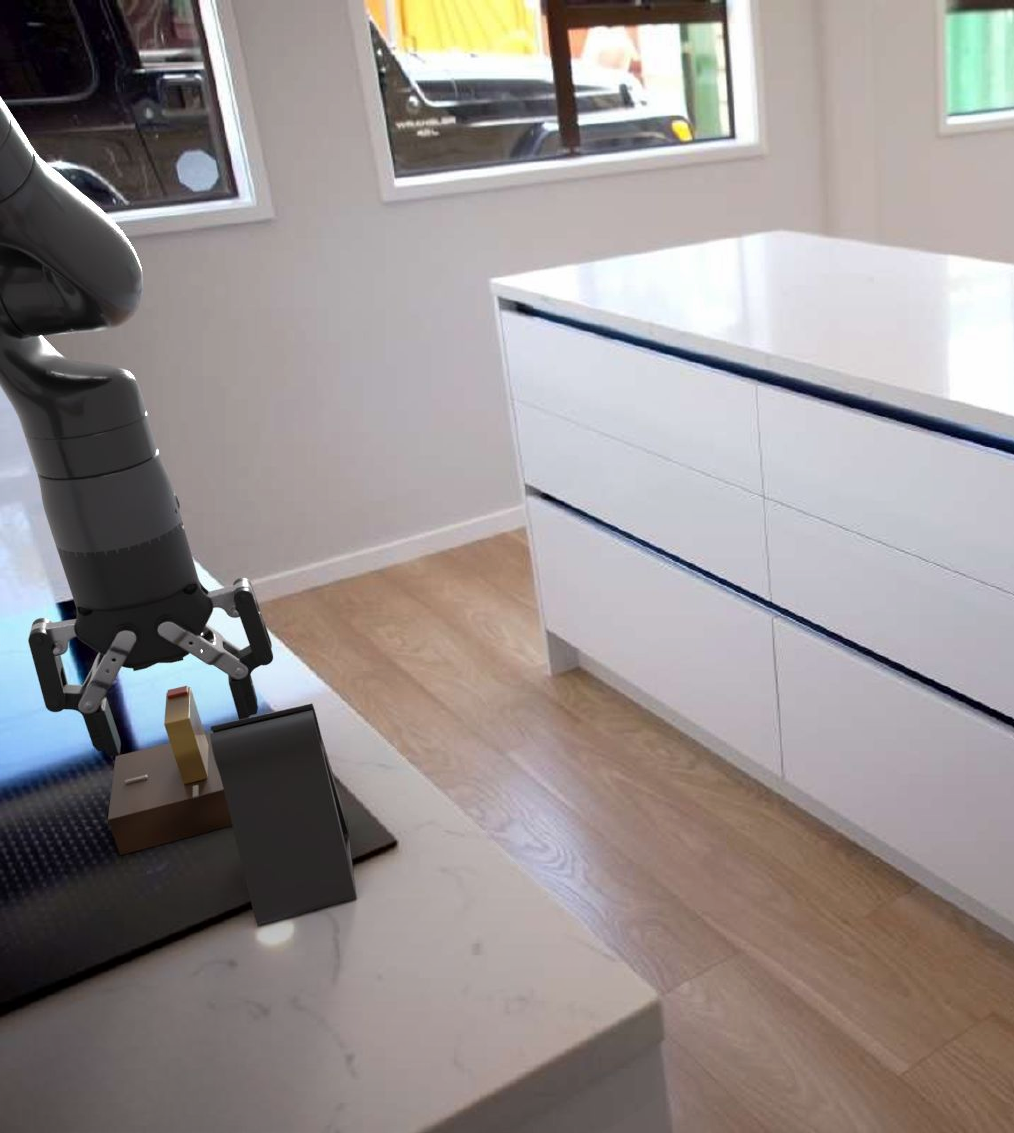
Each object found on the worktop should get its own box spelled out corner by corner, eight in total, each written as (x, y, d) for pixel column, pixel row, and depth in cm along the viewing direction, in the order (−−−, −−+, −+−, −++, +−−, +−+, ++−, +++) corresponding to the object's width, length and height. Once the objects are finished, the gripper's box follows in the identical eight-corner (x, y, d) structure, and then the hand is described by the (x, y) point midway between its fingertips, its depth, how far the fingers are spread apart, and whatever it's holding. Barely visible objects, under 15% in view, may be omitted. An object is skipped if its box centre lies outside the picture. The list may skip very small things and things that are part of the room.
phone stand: (356, 900, 83) (315, 740, 78) (256, 928, 81) (206, 766, 76) (349, 825, 90) (310, 675, 85) (257, 849, 88) (212, 697, 83)
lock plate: (120, 856, 88) (106, 818, 87) (127, 789, 96) (115, 753, 95) (290, 810, 92) (280, 773, 91) (284, 749, 100) (274, 714, 99)
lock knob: (208, 778, 91) (188, 714, 89) (183, 784, 91) (162, 720, 88) (208, 745, 95) (189, 683, 93) (184, 751, 95) (165, 689, 93)
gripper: (-14, 568, 80) (65, 789, 86) (235, 522, 85) (291, 733, 92) (1, 528, 86) (73, 737, 93) (232, 487, 91) (284, 687, 98)
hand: (181, 734), depth 92 cm, fingers open, 8 cm apart
